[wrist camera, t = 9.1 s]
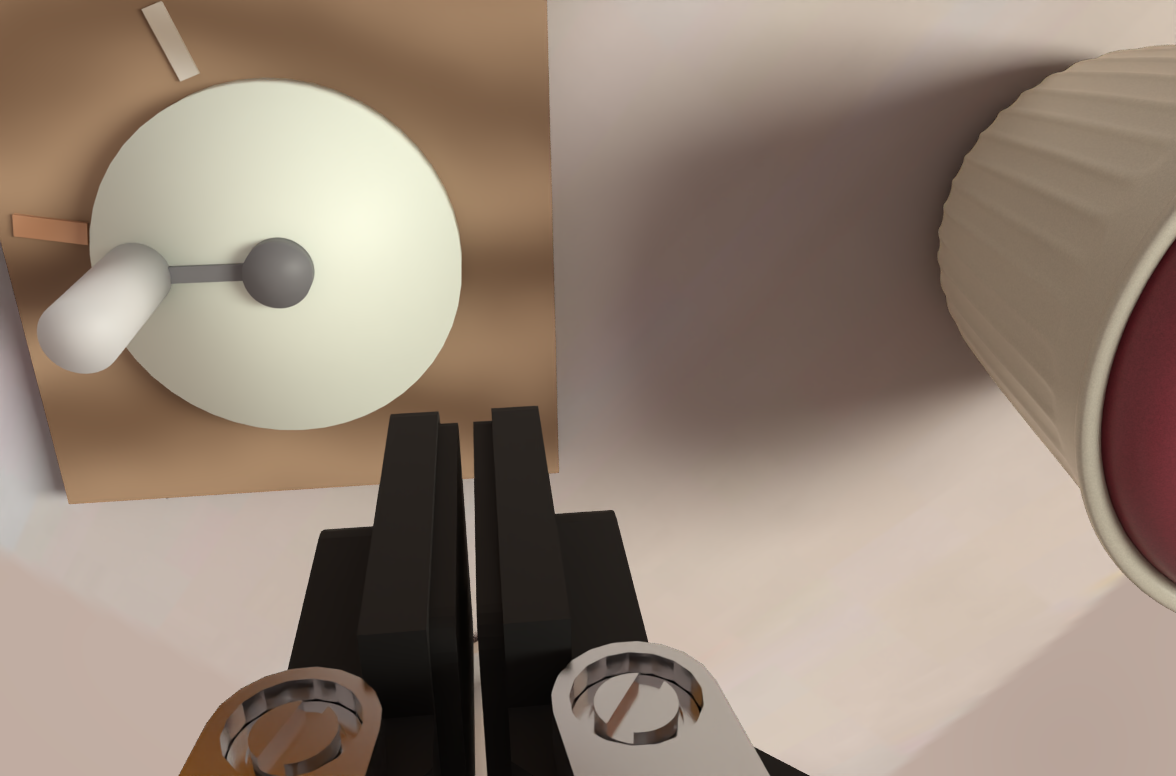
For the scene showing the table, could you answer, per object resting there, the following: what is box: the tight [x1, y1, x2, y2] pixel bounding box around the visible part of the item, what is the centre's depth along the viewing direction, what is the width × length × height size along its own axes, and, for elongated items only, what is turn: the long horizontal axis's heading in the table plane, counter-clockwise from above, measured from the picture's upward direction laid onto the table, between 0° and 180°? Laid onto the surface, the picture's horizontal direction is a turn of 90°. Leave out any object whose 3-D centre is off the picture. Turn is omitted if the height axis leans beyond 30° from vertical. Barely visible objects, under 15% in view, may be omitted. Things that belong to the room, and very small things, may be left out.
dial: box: [37, 77, 462, 430], centre depth 35 cm, size 13×13×8 cm
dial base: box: [0, 0, 559, 504], centre depth 39 cm, size 20×20×2 cm
